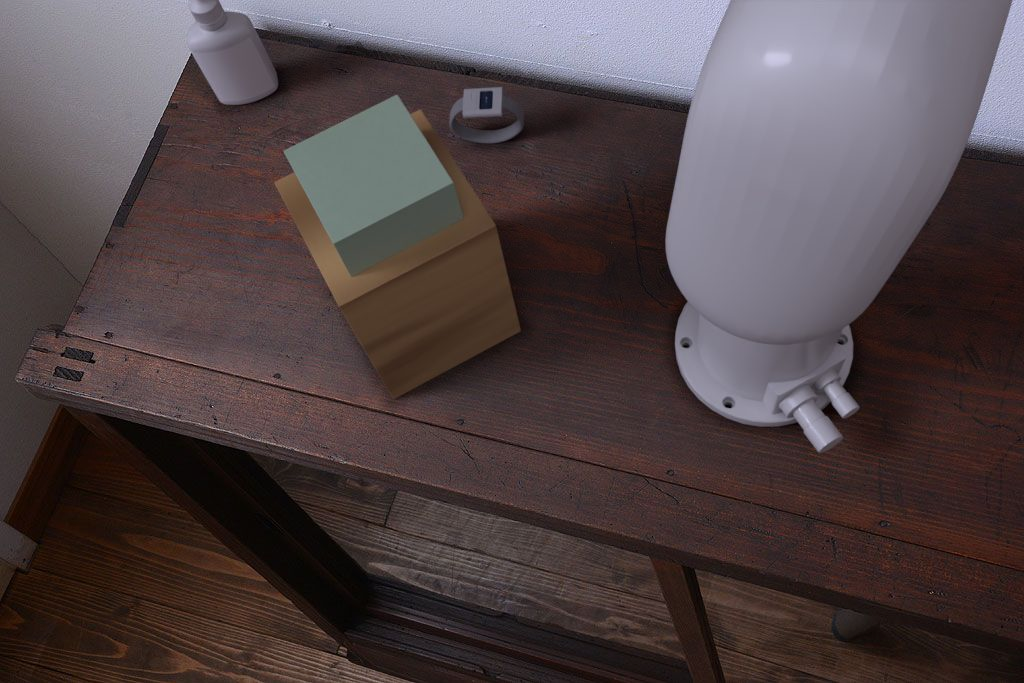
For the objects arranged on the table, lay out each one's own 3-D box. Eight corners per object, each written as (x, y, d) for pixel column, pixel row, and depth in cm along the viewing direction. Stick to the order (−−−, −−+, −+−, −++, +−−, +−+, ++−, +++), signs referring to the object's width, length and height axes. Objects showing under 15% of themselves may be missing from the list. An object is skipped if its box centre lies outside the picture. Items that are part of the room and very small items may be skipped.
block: (464, 219, 61) (453, 182, 58) (351, 277, 60) (333, 243, 57) (410, 133, 65) (397, 93, 61) (302, 187, 64) (282, 150, 60)
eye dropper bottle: (269, 112, 87) (217, 13, 76) (212, 104, 88) (153, 5, 77) (286, 74, 88) (237, -28, 78) (230, 67, 90) (175, -35, 79)
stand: (521, 331, 74) (496, 225, 61) (393, 399, 73) (339, 306, 60) (457, 228, 79) (420, 108, 66) (336, 290, 78) (273, 181, 64)
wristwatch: (453, 153, 82) (443, 115, 78) (455, 127, 84) (445, 88, 79) (526, 149, 82) (520, 111, 77) (527, 123, 83) (520, 84, 78)
